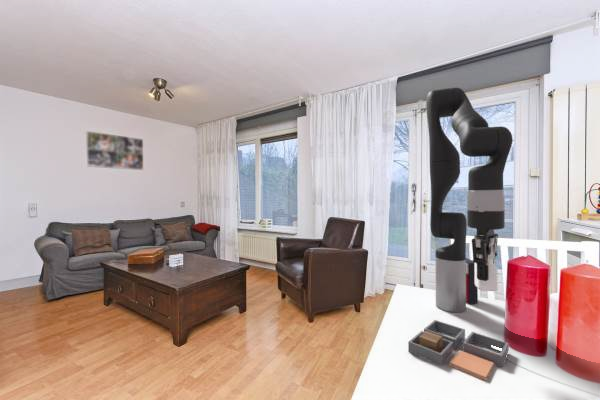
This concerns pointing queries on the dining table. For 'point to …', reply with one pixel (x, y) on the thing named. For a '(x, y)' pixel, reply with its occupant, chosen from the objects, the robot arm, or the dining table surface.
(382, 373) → the dining table surface
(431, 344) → the walnut cube
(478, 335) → the shaker bin
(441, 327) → the empty bin
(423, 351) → the bin with cube
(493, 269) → the salt shaker
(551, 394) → the dining table surface
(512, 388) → the dining table surface
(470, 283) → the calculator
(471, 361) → the terracotta pad
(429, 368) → the dining table surface
